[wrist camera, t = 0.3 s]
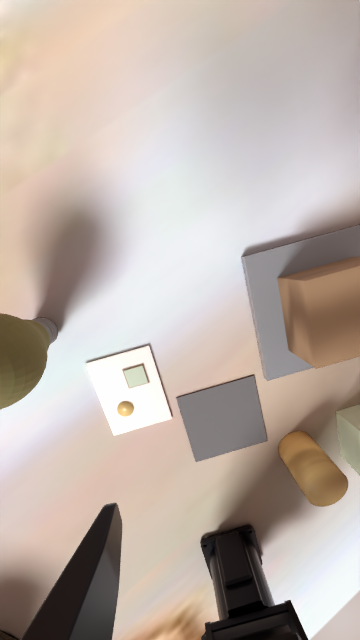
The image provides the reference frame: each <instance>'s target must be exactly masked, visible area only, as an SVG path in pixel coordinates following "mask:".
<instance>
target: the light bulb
mask: <svg viewBox="0 0 360 640" xmlns="http://www.w3.org/2000/svg"><path fill="white" fill-rule="evenodd" d="M57 336H58V329H57V327H56V325H55V324H54V323H53V322H52V321H51V320H49V319H47V318H43V317H40V318H35V319H33V320H22V319H20V318H18V317H14V316H11V315H7V314H1V313H0V409H2V408H5V407H8V406H10V405H12V404H14V403H16V402H17V401H19V400H21V399H22V398H24V397H25V396H26V395H27V394H28V393H30V392H31V390H32V389H33V388H34V387H35V386H36V385H37V383H38V382H39V380H40V379H41V377H42V375H43V373H44V370H45V368H46V362H47V350H48V348H49V345H50V344H51V343H53V342H54V341H55V340H56V338H57Z"/></svg>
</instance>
